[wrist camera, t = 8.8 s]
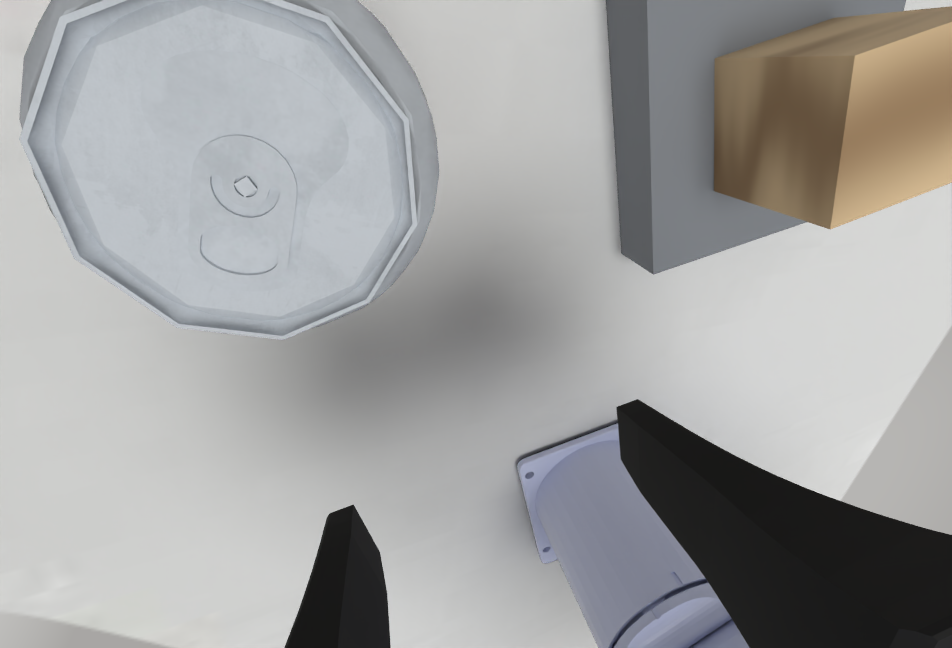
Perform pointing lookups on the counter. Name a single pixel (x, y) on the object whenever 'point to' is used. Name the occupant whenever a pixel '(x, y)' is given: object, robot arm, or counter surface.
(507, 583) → the counter surface
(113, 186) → the beer can
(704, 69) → the charcoal base
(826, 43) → the oak block
